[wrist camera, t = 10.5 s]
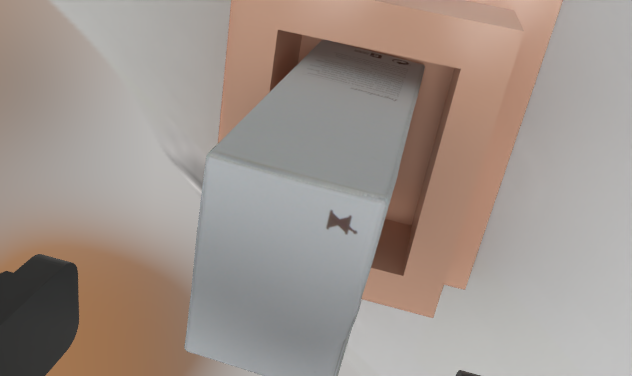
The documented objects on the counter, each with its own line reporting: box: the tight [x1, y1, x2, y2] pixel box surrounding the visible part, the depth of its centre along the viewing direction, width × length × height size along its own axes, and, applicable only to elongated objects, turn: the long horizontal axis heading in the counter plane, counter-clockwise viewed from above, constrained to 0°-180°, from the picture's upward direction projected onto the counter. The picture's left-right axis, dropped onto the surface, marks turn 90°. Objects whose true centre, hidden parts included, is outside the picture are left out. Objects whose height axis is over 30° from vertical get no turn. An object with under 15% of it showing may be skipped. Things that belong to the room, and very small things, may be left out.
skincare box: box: [185, 39, 425, 376], centre depth 19 cm, size 6×4×12 cm
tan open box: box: [218, 0, 563, 318], centre depth 23 cm, size 12×13×5 cm
